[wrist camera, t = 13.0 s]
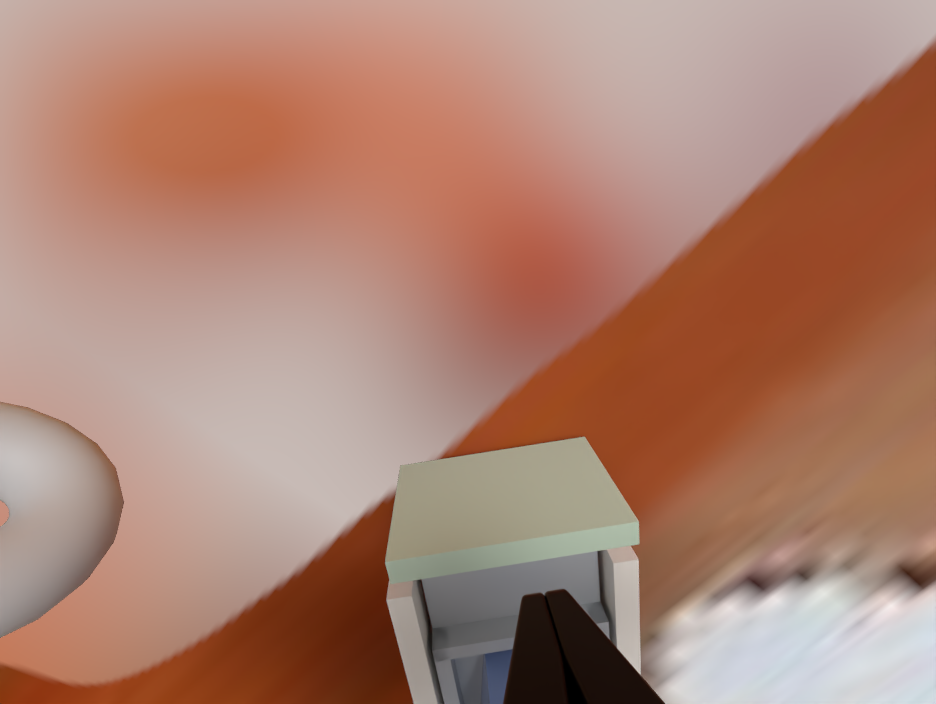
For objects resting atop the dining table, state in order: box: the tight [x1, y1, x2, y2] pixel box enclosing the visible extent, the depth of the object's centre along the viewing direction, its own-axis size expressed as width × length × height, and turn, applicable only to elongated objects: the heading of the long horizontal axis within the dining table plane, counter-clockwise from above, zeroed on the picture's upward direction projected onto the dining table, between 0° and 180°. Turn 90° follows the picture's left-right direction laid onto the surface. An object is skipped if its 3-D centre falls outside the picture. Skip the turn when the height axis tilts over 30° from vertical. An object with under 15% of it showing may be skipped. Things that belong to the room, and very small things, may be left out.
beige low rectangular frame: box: [386, 546, 641, 704], centre depth 24 cm, size 19×12×2 cm, turn 8°
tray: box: [385, 437, 639, 704], centre depth 21 cm, size 18×9×6 cm, turn 8°
